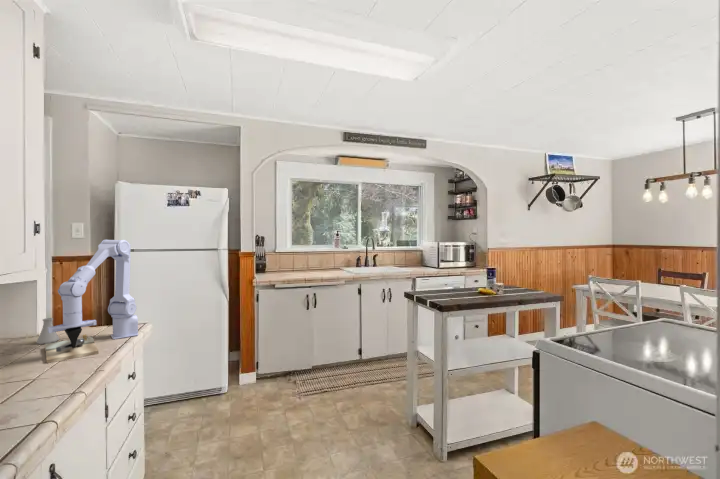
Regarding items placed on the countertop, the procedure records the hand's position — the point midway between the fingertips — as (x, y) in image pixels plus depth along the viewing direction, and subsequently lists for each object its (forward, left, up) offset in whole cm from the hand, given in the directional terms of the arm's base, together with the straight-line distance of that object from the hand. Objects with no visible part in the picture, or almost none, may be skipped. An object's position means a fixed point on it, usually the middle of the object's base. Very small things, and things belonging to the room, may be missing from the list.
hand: (73, 347), depth 135 cm
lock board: (0, -5, -3) cm, 6 cm away
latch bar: (+1, -2, 0) cm, 2 cm away
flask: (+7, -26, -3) cm, 27 cm away
